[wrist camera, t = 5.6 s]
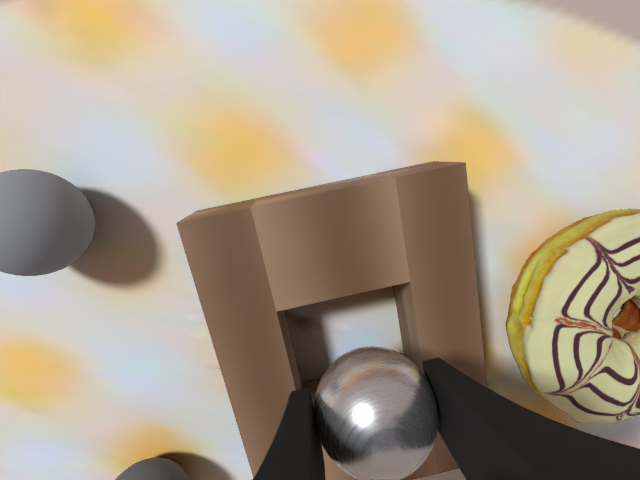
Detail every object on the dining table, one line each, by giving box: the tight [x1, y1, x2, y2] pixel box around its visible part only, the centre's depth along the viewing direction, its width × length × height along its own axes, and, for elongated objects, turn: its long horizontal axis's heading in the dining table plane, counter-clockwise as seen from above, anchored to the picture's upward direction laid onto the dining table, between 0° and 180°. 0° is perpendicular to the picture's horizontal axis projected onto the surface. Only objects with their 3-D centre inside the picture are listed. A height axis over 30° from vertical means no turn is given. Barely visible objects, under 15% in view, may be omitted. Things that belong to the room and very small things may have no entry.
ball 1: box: [0, 169, 95, 276], centre depth 14 cm, size 4×4×4 cm
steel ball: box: [314, 346, 439, 480], centre depth 12 cm, size 4×4×4 cm
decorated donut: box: [506, 209, 640, 423], centre depth 17 cm, size 10×11×4 cm
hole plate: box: [177, 162, 487, 480], centre depth 16 cm, size 11×14×3 cm
